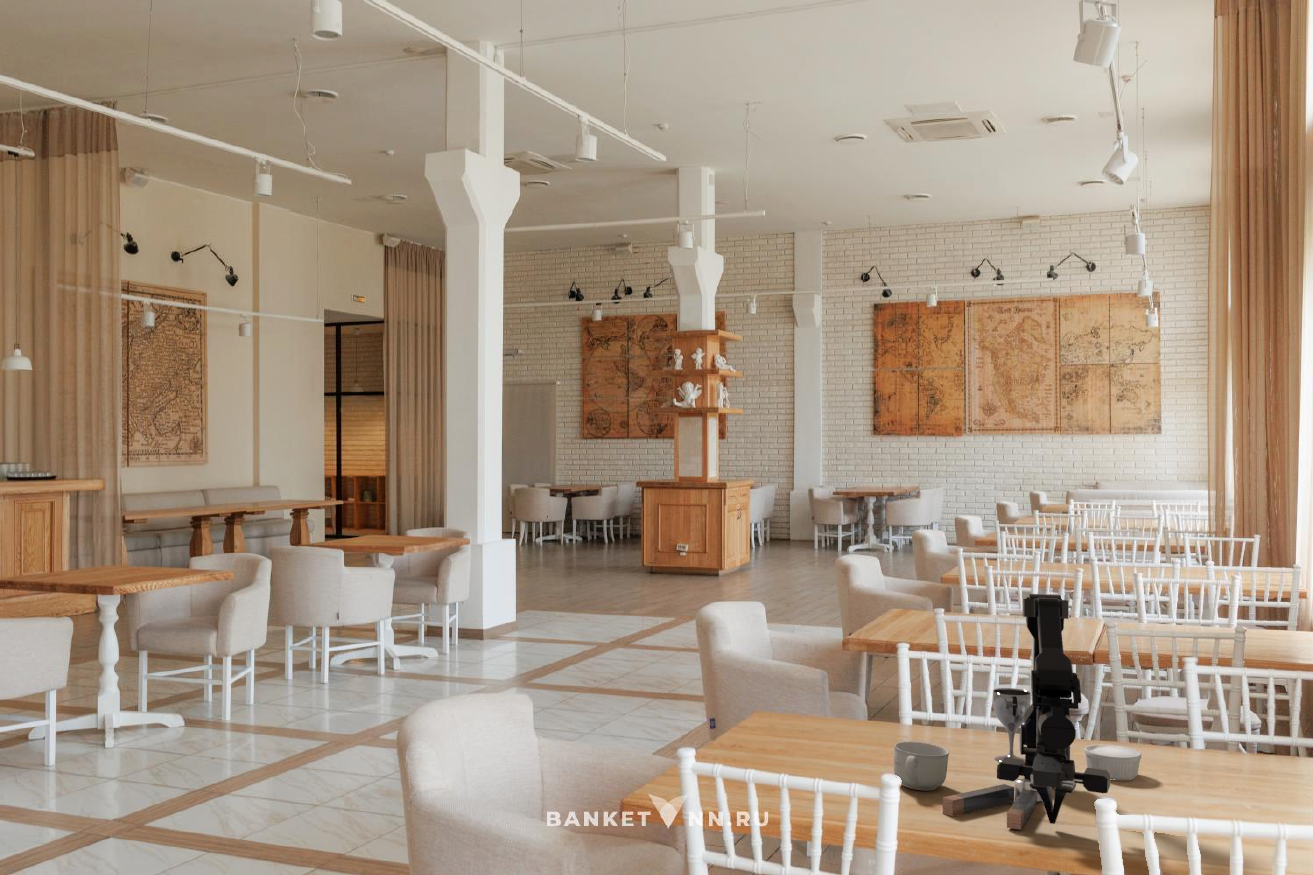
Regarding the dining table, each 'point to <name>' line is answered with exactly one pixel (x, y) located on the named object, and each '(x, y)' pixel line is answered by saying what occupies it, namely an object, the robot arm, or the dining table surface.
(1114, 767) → the ramekin
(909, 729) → the dining table surface
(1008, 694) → the wine glass
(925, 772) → the teacup
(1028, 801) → the tongs arm
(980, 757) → the dining table surface
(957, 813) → the base
